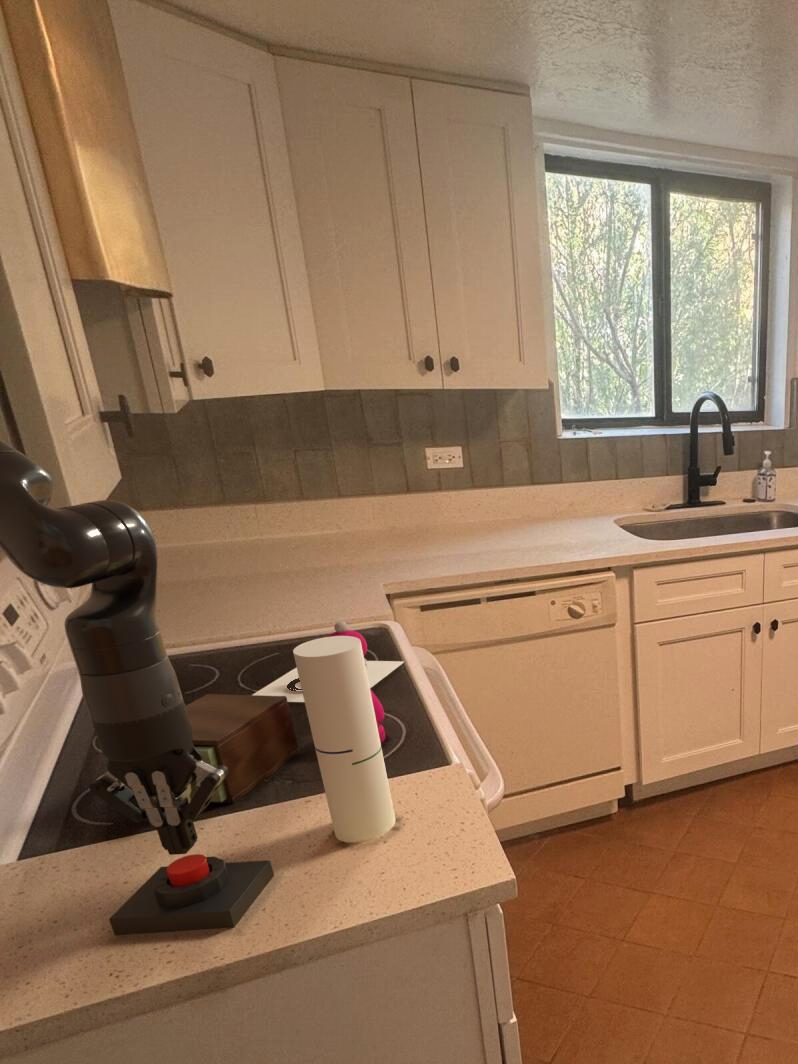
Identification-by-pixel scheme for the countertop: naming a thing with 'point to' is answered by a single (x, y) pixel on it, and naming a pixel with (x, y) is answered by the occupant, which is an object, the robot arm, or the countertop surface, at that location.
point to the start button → (188, 870)
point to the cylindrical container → (345, 736)
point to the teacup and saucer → (279, 688)
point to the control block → (193, 899)
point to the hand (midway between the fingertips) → (182, 849)
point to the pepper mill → (378, 708)
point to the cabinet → (244, 737)
